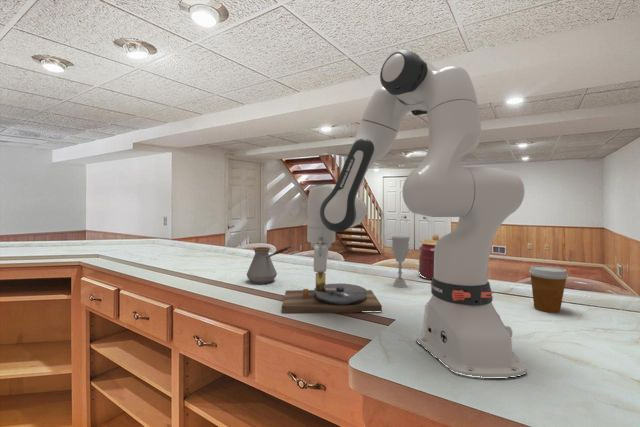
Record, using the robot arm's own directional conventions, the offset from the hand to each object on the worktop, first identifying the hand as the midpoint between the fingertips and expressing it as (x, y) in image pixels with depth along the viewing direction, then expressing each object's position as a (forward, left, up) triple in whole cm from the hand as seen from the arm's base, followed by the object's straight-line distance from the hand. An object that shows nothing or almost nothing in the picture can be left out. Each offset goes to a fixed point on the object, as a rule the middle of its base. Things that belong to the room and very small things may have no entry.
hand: (320, 279), depth 105 cm
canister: (+30, -48, -7) cm, 57 cm away
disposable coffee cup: (-10, -66, -7) cm, 67 cm away
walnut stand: (-4, -3, -7) cm, 8 cm away
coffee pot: (+21, +18, -7) cm, 29 cm away
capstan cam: (-4, -6, -5) cm, 8 cm away
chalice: (+17, -30, -7) cm, 35 cm away
